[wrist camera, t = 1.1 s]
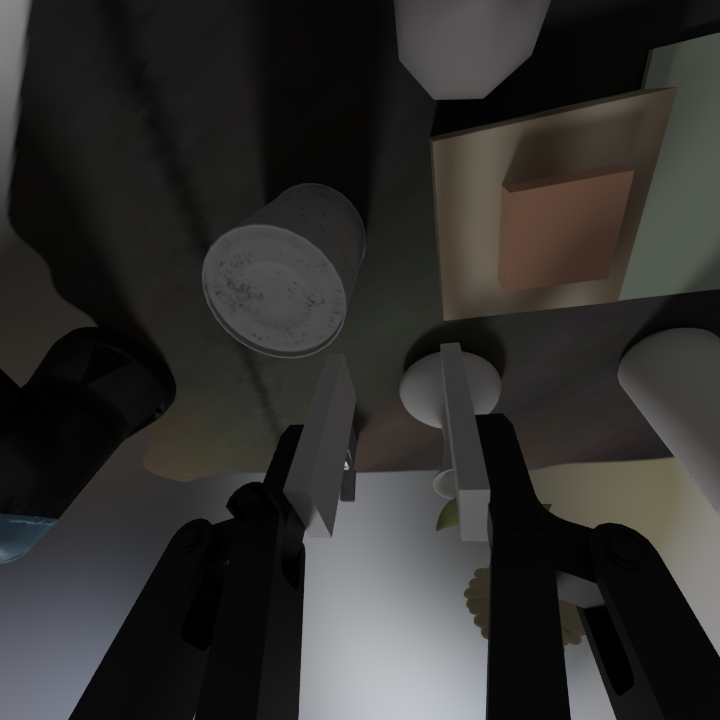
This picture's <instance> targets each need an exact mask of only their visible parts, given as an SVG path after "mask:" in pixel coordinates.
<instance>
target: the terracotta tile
mask: <svg viewBox="0 0 720 720" xmlns="http://www.w3.org/2000/svg"><path fill="white" fill-rule="evenodd" d="M634 171H635V170H633V169H630V168H626V167H623V166H619V165H616V164H612V165H607V166H602V167H597V168H591V169H586V170H581V171H575V172H570V173H565V174H560V175H554V176H549V177H544V178H538V179H533V180H528V181H523V182H517V183H512V184H507V185H502V186H501V209H500V233H499V257H498V280H499V282H500V284H501V286H502V288H503V290H504V292H506V291H514V290H522V289H530V288H538V287H546V286H554V285H562V284H570V283H578V282H586V281H594V280H602V279H608V276H609V272H610V268H611V264H612V260H613V256H614V252H615V248H616V244H617V240H618V236H619V231H620V227H621V223H622V219H623V215H624V211H625V207H626V203H627V199H628V195H629V191H630V187H631V183H632V179H633V175H634Z"/></svg>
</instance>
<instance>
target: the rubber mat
mask: <svg viewBox="0 0 720 720" xmlns="http://www.w3.org/2000/svg"><path fill="white" fill-rule="evenodd" d="M668 87H678V88H677V92H676V95H675V99H674V102H673V106H672V110H671V113H670V117H669V120H668V124H667V128H666V131H665V135H664V138H663V142H662V145H661V149H660V153H659V156H658V160H657V163H656V167H655V171H654V174H653V178H652V181H651V185H650V189H649V192H648V196H647V199H646V203H645V206H644V210H643V214H642V217H641V221H640V224H639V228H638V232H637V235H636V239H635V242H634V246H633V250H632V253H631V257H630V260H629V264H628V268H627V271H626V275H625V278H624V282H623V285H622V289H621V293H620V296H619V300H626V299H635V298H644V297H653V296H662V295H671V294H680V293H689V292H698V291H706V290H715V289H720V32H719V33H715V34H711V35H707V36H703V37H699V38H695V39H691V40H687V41H683V42H679V43H675V44H671V45H667V46H663V47H659V48H655V49H651V50H649V53H648V58H647V62H646V66H645V71H644V75H643V80H642V84H641V88H640V89H652V88H668Z"/></svg>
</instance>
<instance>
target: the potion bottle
mask: <svg viewBox="0 0 720 720" xmlns="http://www.w3.org/2000/svg"><path fill="white" fill-rule="evenodd" d="M550 1H551V0H394V9H395V20H396V31H397V42H398V53H399V60H400V62H401V63H402V64H403V65H404V66H405V67H406V68H407V69H408V71H409V72H410V73H411V74H412V75H413V76H414V77H415V79H416V80H417V81H418V82H419V83H420V84H421V85H422V87H423V88H424V89H425V90H426V91H427V92H428V93H429V95H430V96H431V97H432V98H433V99H434V100H449V99H484V98H485V97H486V96H487V95H488V94H489V93H490V92H491V91H492V90H494V89H495V88H496V87H497V86H498V85H499V84H500V83H501V82H502V81H503V80H505V79H506V78H507V77H508V76H509V75H510V74H511V73H512V72H513V71H515V70H516V69H517V68H518V67H519V66H520V65H521V64H522V63H523V62H525V61H526V60H527V59H528V58H529V57H530V56H531V55H532V52H533V49H534V46H535V44H536V41H537V38H538V35H539V32H540V29H541V27H542V24H543V21H544V18H545V15H546V13H547V10H548V7H549V4H550Z"/></svg>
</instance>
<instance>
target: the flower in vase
mask: <svg viewBox="0 0 720 720" xmlns="http://www.w3.org/2000/svg"><path fill="white" fill-rule="evenodd" d="M461 353H462V357H463V362H464V367H465V372H466V376H467V381H468V386H469V391H470V395H471V400H472V405H473V410H474V414H475V415H479V414H489V413H490V412H491V411H492V410H493V408H494V407H495V405H496V404H497V402H498V399H499V396H500V392H501V379H500V376H499V374H498V372H497V370H496V369H495V368H494V367H493V365H491V364H490V363H489V362H488V361H486V360H485V359H483V358H481V357H479V356H477V355H474V354H471V353H468V352H463V351H461ZM399 391H400V397H401V400H402V402H403V404H404V406H405V408H406V409H407V411H408V412H409V413H410V414H411V415H412V416H413V417H415V418H416V419H418V420H419V421H421V422H423V423H425V424H428V425H430V426H433V427H437V428H442V430H443V435H444V445H445V449H444V460H443V465H442V468H441V470H440V471H439V473H438V474H437V475H436V476H435V478H434V480H433V488H434V489H435V491H436V492H437V493H438V494H440V495H441V496H443V497H445V498H448V499H452V500H451V501H449V502H448V503H447V505H446V506H445V507H444V509H443V510H442V512H441V514H440V516H439V519H438V522H437V528H436V531H438V530H441V529H443V528H446V527H449V526H453V525H457V524H459V515H458V507H457V499H456V490H455V482H454V474H453V465H452V457H451V449H450V440H449V432H448V424H447V415H446V407H445V399H444V389H443V375H442V362H441V352H436V353H433V354H430V355H427V356H425V357H423V358H422V359H420V360H418V361H417V362H415V363H414V364H413V365H411V366H410V367H409V368H408V369H407V371H406V372H405V373H404V375H403V377H402V379H401V382H400V387H399ZM542 505H543V507H545V508H546V509H547V510H548V511H549V509H550V507H551V504H542ZM474 575H475V577H476V578H474V579H472V580H470V582H469V586H470V588H468V589H466V590H465V592H464V596H465V597H466V598H468V600H467V603H466V606H467V607H468V608H469V611H470V613H471V614H474V615H476V616H475V617H474V623H475V625H476V626H477V627H480V628H481V634H482V636H483V637H484V638H485V639H488V629H489V596H490V565H489V568H485V569H484V568H481V569H477V570H476V571H475V573H474ZM558 600H559V610H560V619H561V629H562V639H563V648H564V646H565V645H567V644H568V643H570V644H572V645H578V644H580V643H581V636H582V635H586V633H585V630H584V628H583V625H582V622H581V619H580V617H579V614H578V611H577V608H576V605H574V604H572V603H569V602H567V601H564V600H562V599H559V598H558ZM564 651H565V650H564Z"/></svg>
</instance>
